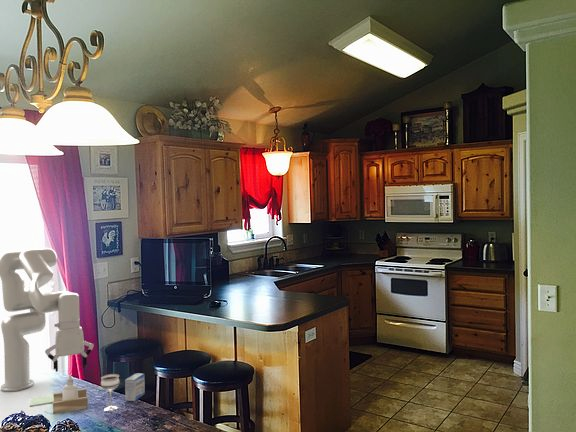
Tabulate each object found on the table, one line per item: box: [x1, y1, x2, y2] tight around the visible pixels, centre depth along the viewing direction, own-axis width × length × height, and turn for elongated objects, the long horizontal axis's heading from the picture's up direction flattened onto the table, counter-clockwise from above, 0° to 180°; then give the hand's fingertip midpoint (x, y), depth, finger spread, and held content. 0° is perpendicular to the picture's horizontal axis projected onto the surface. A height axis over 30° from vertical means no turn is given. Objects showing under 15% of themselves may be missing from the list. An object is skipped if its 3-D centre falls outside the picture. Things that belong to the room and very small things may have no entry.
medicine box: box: [124, 372, 146, 402], centre depth 193 cm, size 8×4×9 cm, turn 168°
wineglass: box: [100, 373, 120, 412], centre depth 182 cm, size 7×7×12 cm
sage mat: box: [29, 393, 54, 408], centre depth 191 cm, size 9×9×1 cm
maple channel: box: [52, 388, 89, 415], centre depth 185 cm, size 11×12×4 cm
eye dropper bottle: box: [61, 374, 79, 401], centre depth 185 cm, size 4×6×12 cm
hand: (70, 368), depth 185 cm, fingers open, 9 cm apart
